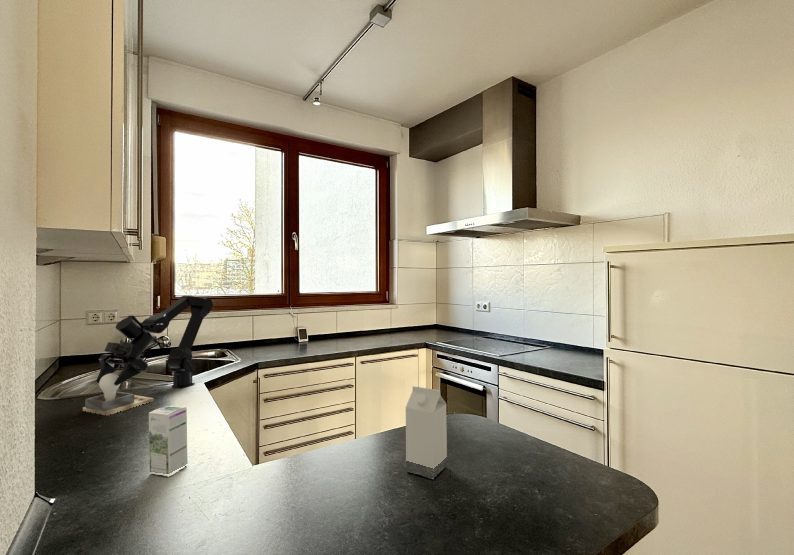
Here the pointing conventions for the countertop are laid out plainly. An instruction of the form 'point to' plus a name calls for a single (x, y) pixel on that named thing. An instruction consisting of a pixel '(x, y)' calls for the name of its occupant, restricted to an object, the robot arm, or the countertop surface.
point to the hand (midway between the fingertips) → (106, 383)
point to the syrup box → (168, 439)
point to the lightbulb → (109, 386)
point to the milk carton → (426, 427)
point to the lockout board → (114, 403)
